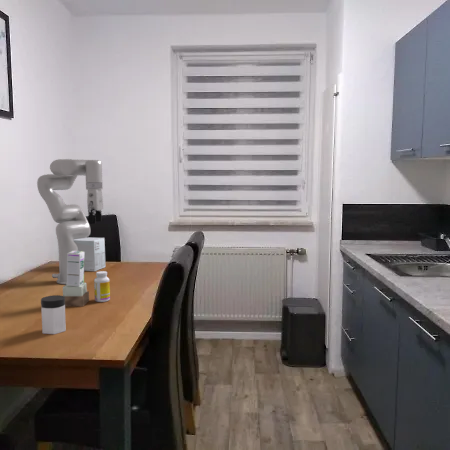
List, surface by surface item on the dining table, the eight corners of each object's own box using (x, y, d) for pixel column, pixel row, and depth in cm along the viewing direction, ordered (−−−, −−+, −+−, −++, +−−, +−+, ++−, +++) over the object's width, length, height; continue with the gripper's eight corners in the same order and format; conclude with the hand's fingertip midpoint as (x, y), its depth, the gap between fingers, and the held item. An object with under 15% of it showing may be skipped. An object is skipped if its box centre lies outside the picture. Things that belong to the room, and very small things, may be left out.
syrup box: (79, 286, 197) (80, 253, 195) (66, 285, 197) (67, 252, 195) (84, 283, 202) (85, 251, 200) (71, 282, 203) (71, 250, 201)
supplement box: (106, 267, 278) (105, 237, 275) (95, 271, 265) (94, 240, 263) (80, 265, 281) (79, 236, 279) (68, 270, 269) (67, 239, 267)
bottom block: (62, 307, 196) (61, 296, 196) (68, 301, 205) (68, 291, 205) (83, 307, 196) (82, 296, 196) (89, 301, 205) (88, 291, 205)
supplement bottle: (113, 299, 208) (112, 271, 206) (104, 303, 201) (103, 274, 200) (100, 297, 210) (99, 270, 208) (91, 301, 203) (90, 273, 202)
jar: (59, 324, 172) (58, 293, 171) (71, 329, 167) (70, 297, 166) (36, 331, 166) (35, 298, 164) (48, 336, 160) (47, 302, 159)
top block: (63, 296, 196) (62, 287, 196) (68, 291, 204) (68, 282, 204) (81, 296, 197) (81, 287, 196) (86, 291, 205) (86, 282, 204)
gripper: (96, 187, 208) (97, 224, 210) (107, 185, 225) (108, 220, 227) (80, 186, 208) (81, 224, 210) (91, 185, 225) (92, 220, 227)
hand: (95, 222), depth 218 cm, fingers open, 9 cm apart
